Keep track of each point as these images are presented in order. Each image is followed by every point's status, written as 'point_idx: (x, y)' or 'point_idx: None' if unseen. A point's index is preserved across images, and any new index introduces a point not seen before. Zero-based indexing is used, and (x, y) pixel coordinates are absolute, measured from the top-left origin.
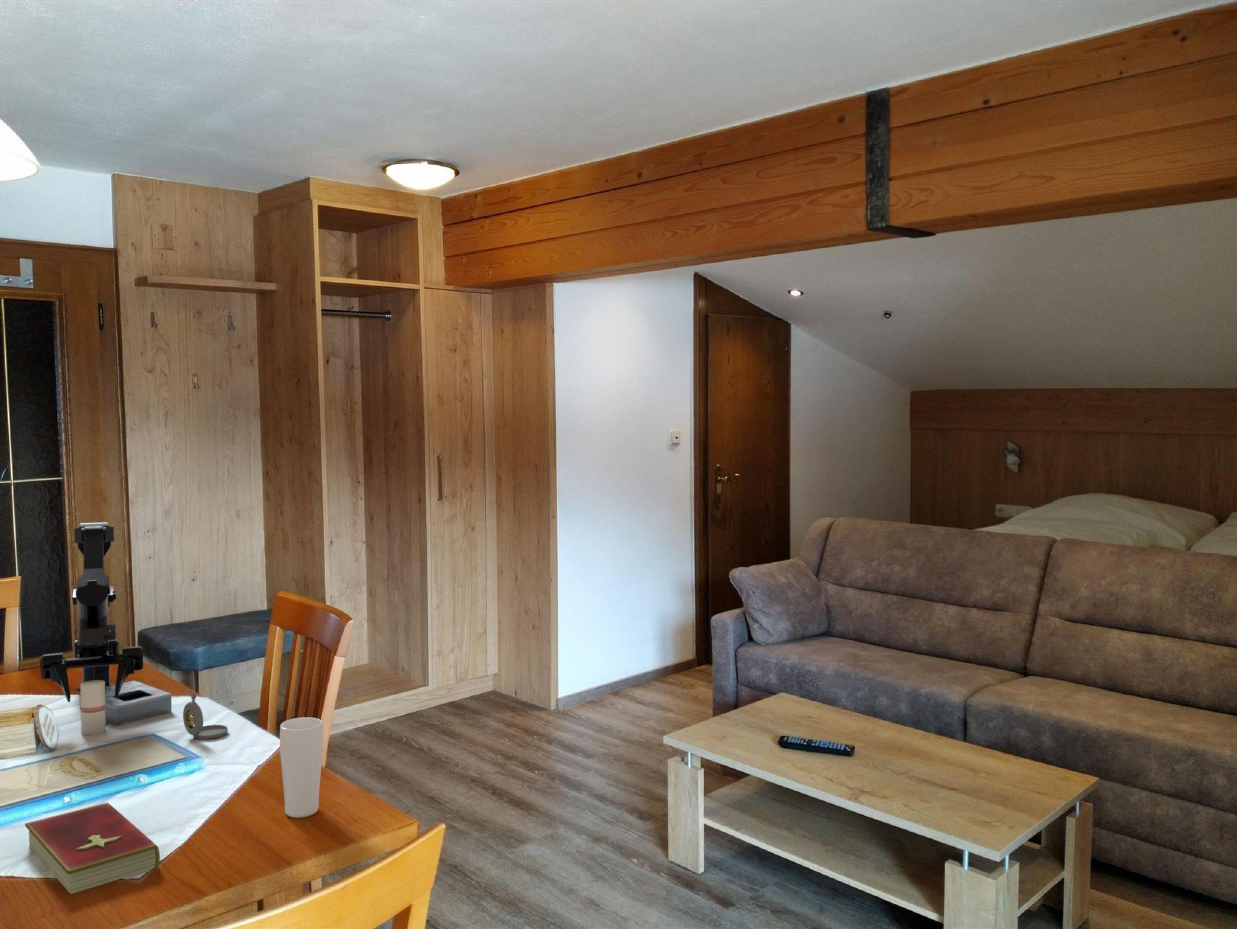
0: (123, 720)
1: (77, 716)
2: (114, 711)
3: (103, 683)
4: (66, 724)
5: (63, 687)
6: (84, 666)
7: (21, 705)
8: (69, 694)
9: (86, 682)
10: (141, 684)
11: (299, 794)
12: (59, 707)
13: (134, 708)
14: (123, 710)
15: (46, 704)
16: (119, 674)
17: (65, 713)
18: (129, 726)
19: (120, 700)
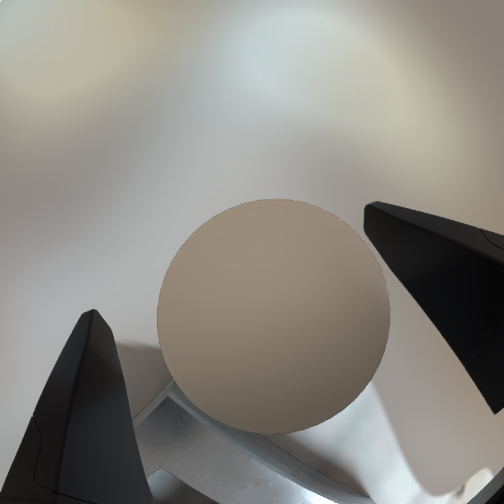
0: (157, 396)
1: (362, 458)
2: (179, 393)
3: (158, 309)
4: (368, 383)
5: (457, 223)
6: (479, 495)
7: (486, 475)
8: (389, 213)
9: (356, 341)
10: None
11: None
12: (424, 498)
13: None
14: (148, 411)
15: (450, 500)
16: (41, 448)
17: (401, 470)
18: (122, 356)
19: (193, 483)
